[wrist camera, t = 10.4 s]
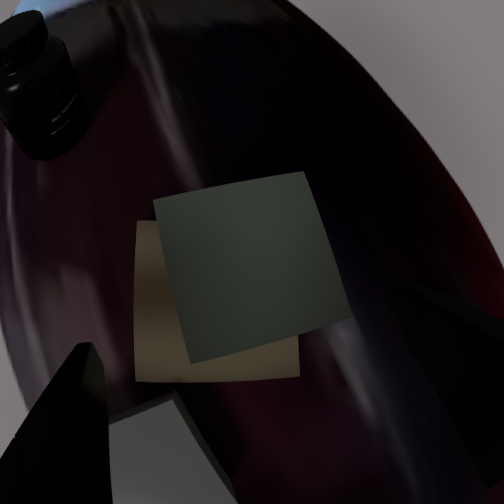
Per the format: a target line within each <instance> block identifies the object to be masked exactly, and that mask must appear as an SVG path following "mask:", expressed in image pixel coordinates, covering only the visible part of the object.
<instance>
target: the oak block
mask: <svg viewBox="0 0 504 504" xmlns="http://www.w3.org/2000/svg"><path fill="white" fill-rule="evenodd" d="M134 354H135V377H136V382H177V383H185V382H228V381H247V380H262V379H275V378H286V377H296V376H300V371H299V349H298V335H296V336H293V337H289V338H286V339H283V340H280V341H276V342H273V343H270V344H266V345H263V346H259V347H256V348H252V349H249V350H245V351H242V352H238V353H234V354H231V355H227V356H223V357H219V358H215V359H211V360H207V361H203V362H199V363H195V364H190V360H189V357H188V353H187V349H186V346H185V342H184V338H183V335H182V331H181V327H180V323H179V319H178V315H177V311H176V307H175V303H174V299H173V295H172V290H171V286H170V282H169V277H168V273H167V268H166V264H165V259H164V254H163V249H162V245H161V240H160V235H159V229H158V224H157V221H137V235H136V252H135V275H134Z"/></svg>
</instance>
